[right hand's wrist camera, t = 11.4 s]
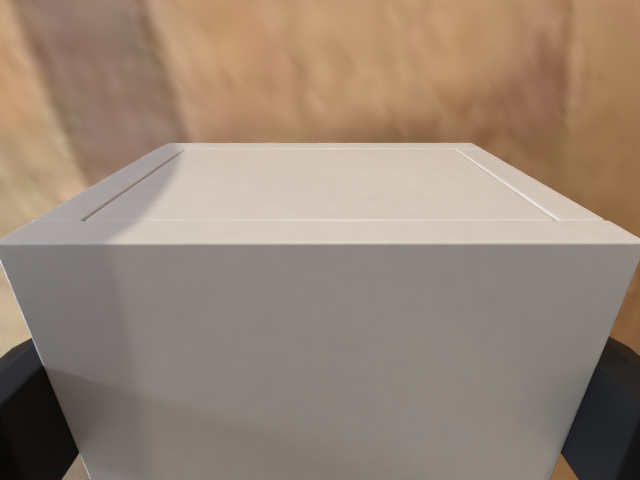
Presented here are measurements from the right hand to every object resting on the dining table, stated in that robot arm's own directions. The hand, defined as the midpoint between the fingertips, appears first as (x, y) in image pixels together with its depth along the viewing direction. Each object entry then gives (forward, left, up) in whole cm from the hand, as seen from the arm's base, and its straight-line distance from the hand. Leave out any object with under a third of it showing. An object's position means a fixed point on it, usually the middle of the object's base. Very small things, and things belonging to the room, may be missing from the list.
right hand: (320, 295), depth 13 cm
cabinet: (0, -3, -3) cm, 5 cm away
